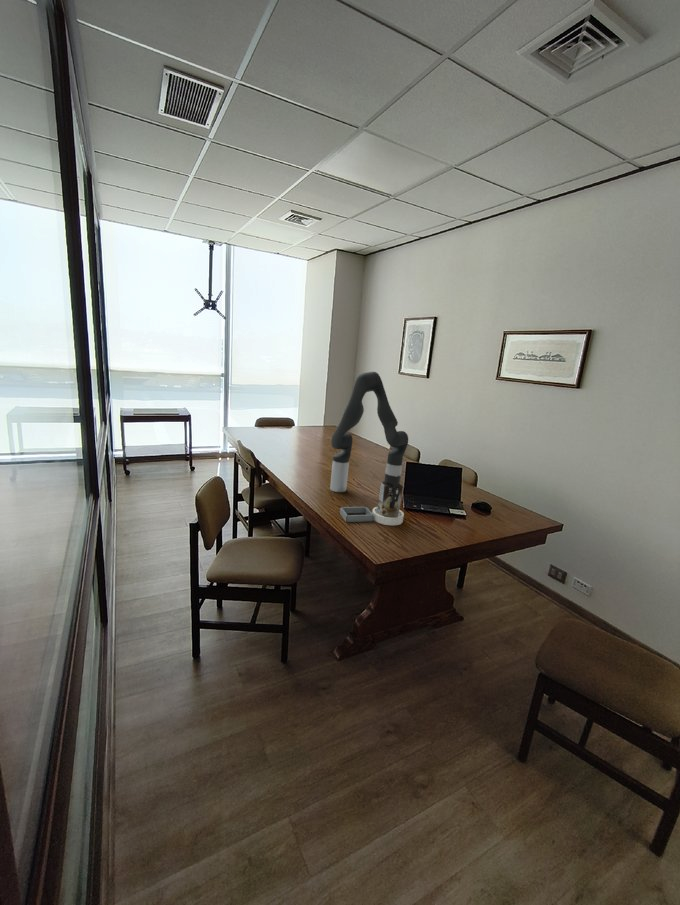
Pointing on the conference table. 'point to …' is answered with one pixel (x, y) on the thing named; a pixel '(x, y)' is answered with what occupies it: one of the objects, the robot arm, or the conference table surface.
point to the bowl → (387, 518)
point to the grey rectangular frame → (356, 518)
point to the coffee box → (388, 501)
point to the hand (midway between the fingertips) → (388, 505)
